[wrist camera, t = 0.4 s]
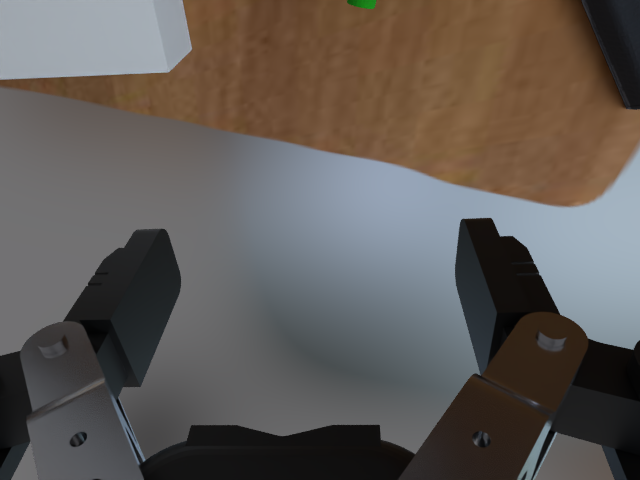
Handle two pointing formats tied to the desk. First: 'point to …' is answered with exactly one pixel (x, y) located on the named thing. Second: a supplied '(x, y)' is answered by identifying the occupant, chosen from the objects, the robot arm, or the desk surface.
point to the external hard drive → (619, 43)
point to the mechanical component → (363, 3)
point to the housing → (91, 37)
